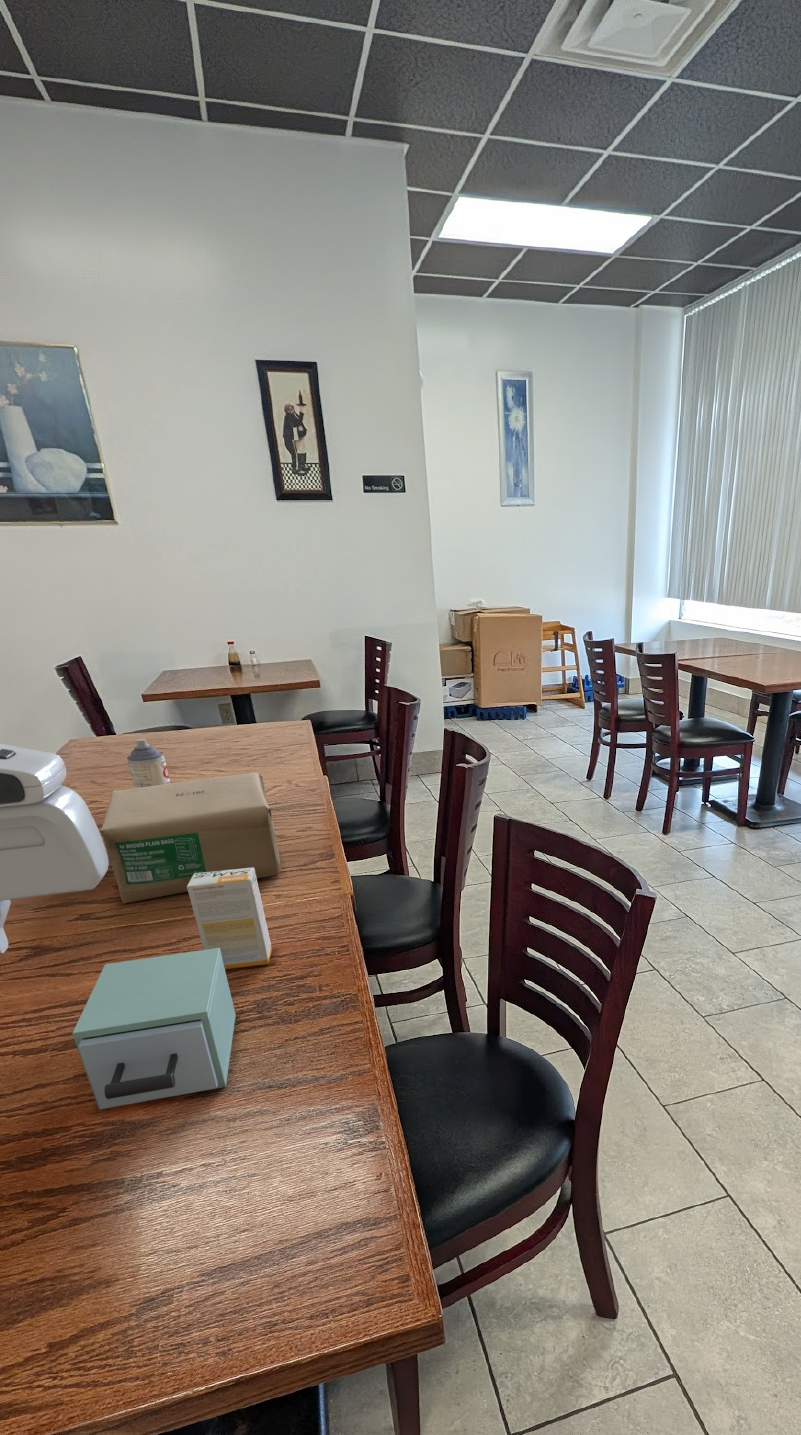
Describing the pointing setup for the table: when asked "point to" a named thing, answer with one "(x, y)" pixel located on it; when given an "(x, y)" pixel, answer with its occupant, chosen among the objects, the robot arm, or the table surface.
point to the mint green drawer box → (163, 1001)
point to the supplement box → (231, 916)
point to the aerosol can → (147, 766)
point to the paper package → (188, 833)
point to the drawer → (149, 1063)
